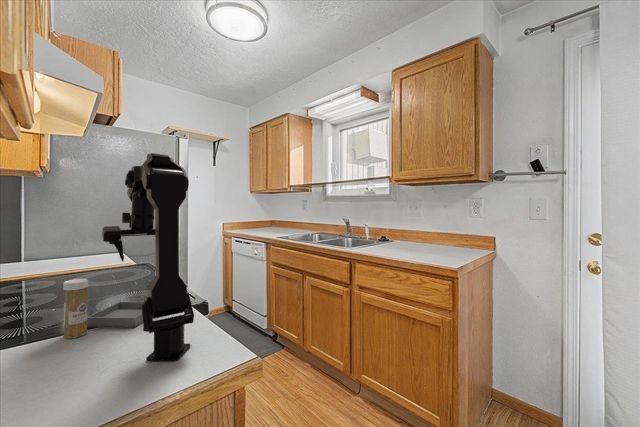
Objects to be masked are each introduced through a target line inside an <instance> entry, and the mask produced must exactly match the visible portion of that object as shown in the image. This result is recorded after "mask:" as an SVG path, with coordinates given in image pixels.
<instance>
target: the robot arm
mask: <svg viewBox="0 0 640 427" xmlns="http://www.w3.org/2000/svg"><path fill="white" fill-rule="evenodd" d="M189 184H190V181H189V177H188V175H187V172H186V169H185V168H184V167H183V166H182V165H180V164H178V163H177V162H176V161H174V159H173V157H172V155H171V156H170V155H169V154H164V153H156V152H151V153H147V155H146V160H144V162H143V163H142V164H141V165H134V166H132V167H131V169H129V170H128V172H127V173H126V175H125V180H124V186H126V188H128V189H127V192H126V194H127V197H128V199H129V201H130V202H131V213H130V212H122V213H121V223H122V224H128V228H129V229H121V226H120V225H114V226H113V225H111V226H104V227H102V229H101V230H102V231H101V237H102V240H103V242H104V243H105V242H106V243H107V242H108V243H109V245H114V247H115V248H116V250H117V252H118V255H119V258H120V260H121V262H124V261H125V259H124V258H125V256H124V255H125V254H124V248H123V247H124V244H123V240H122V237H134V236H135V237H137V236H138V237H139V236H140V237H141V236H155V237H154V238H155V242H154V244H155V271H156V275H155V274H154V277H153V278H152V280H151V281H150V282H149V283H148V285H147V292H146V297H145V298H144V300H143V302H144V303H143V305H142V306H141V307H142V316H143V323H142V327H143V328H142V331H143V332H148V333H149V334H152V333H153V351H152V352H151V353H150V354H149V355H148V356H146V357H145V359H146V361H159V362H160V361H162V362H163V361H165V362H167V361H172V362H174V361H175V362H176V361H179V360H180V358H181V357H182V356H183V355H184V354H185V353H186V352H187V351H188V350H189V349H190V348H191V343H185V325H187V324H188V325H189V324H193V323H194V321H195V320H194V319H195V313H194V308H193V305H192V301H191V297H190V294H189V292H188V286H187V285H186V283H185V282H184V280H183V278H182V277H180V274H179V273H180V272H179V267H180V265H179V259H180V258H179V209H180V207H181V206H182V204H183V203H184V201H185V199H186V198H187V192H188V190H189V187H190V185H189ZM154 222H155V224H154ZM154 225H155V226H154ZM154 227H155V228H154ZM178 314H180V315H178ZM169 316H170V317H169ZM163 317H165V318H163ZM159 318H160V319H159ZM161 318H162V319H161ZM154 319H157V320H154Z"/></svg>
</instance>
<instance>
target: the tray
mask: <svg viewBox="0 0 640 427" xmlns="http://www.w3.org/2000/svg"><path fill="white" fill-rule="evenodd" d="M143 303H144V301H117V302H116V303H114V304H111V305H109V306H107V307H105V308H102V309H100V310H98V311H96V312H94V313H92V314H90V315H87V328H97V329H98V328H99V329H100V328H108V329H109V328H110V329H111V328H113V329H114V328H115V329H116V328H118V329H120V328H121V329H123V328H126V329H132V328H135V329H136V328H137V327H138V326H140V325H143V316H142V307H141V306H142V305H143Z"/></svg>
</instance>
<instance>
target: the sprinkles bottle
mask: <svg viewBox="0 0 640 427" xmlns="http://www.w3.org/2000/svg"><path fill="white" fill-rule="evenodd" d="M62 285H63V286H62V290H63V292H64V293H63V327H64V328H63V338H64V339H71V340H72V339H76V338H80V337H83V336H85V335H86V334H87V333H88V332H89V330H88V327H87V317H88V287H89V280H88V279H87V278H75V279H68V280H66V281H64V282H63V284H62Z"/></svg>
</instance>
